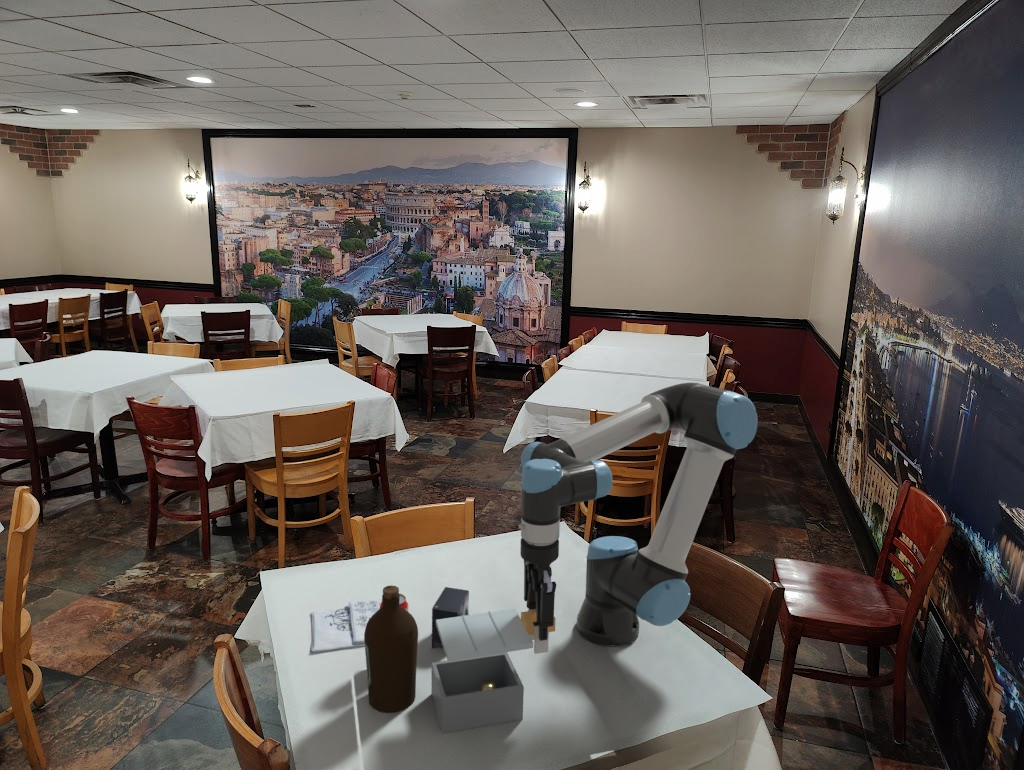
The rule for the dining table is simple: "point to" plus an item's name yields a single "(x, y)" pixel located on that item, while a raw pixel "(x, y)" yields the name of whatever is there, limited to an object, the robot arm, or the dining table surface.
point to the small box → (448, 609)
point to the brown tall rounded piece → (391, 655)
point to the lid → (487, 633)
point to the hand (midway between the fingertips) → (537, 644)
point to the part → (488, 685)
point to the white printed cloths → (342, 626)
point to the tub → (476, 692)
